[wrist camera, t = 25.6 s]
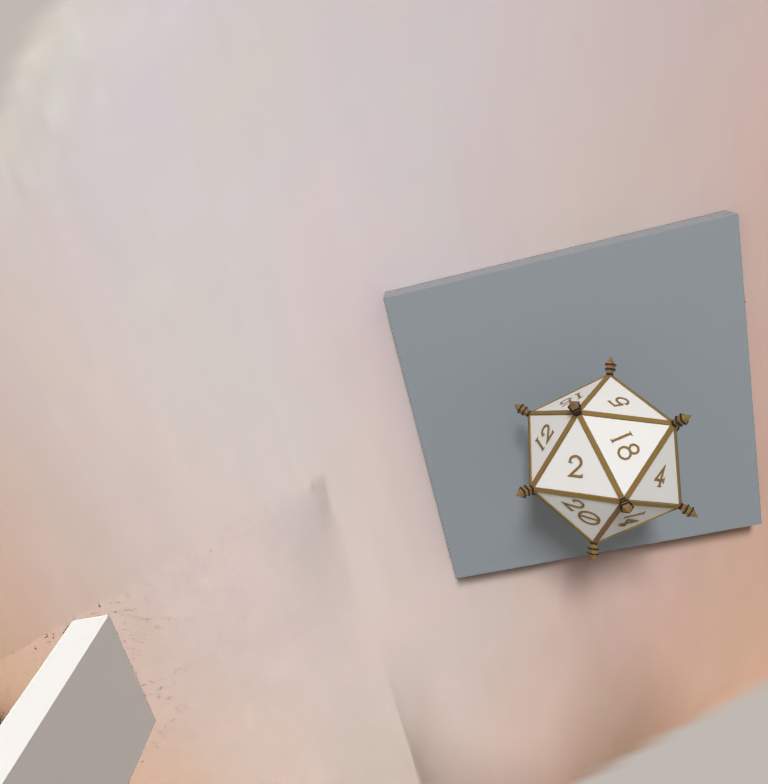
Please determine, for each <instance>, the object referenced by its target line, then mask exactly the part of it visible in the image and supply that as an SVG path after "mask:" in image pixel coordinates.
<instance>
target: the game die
mask: <svg viewBox="0 0 768 784" xmlns="http://www.w3.org/2000/svg"><path fill="white" fill-rule="evenodd" d="M605 366H606V368H605V370H606V375H605V376H603V377H601V378H599V379H597V380H594V381H592V382H590V383H588V384H586V385H584V386H582V387H580V388H578V389H576V390H574V391H572V392H570V393H568V394H566V395H563V396H561V397H559V398H557V399H555V400H553V401H551V402H549V403H547V404H545V405H543V406H541V407H539V408H537V409H534V410H532V411H530V410H529V409H528V407H527V406H526V407H525V406H524V404H522V405H521V404H514V405H515V407H516V409H517V413H520V414H522V416H523V415H525V416H527V417H528V446H529V486H526V485H524V487H520V488H519V490H518V492H517V494H516V495H515V496H519V497H522V498H526V496H530V494H532V495H536V496H537V497H539V498H540V499H541V500H542V501H543V502H544V503H546V504H547V505H548V506H549V507H550V508H551V509H553V510H554V511H555V512H556V513H557V514H558V515H559V516H561V517H562V518H563V519H564V520H565V521H566V522H568V523H569V524H570V525H571V526H572V527H573V528H575V529H576V530H577V531H578V532H579V533H580V534H582V535H583V536H584V537H585V538H586V539H587V540H588V541H590V545H589V547H587V548H588V552H587V553H588V555H589V557H590V559H591V561H592V562H593V560H594V559H595V558H596V556H597V555H598V550H599V548H598V547H597V544H598V543H599V542H601V541H604V540H606V539H608V538H611V537H613V536H615V535H618V534H620V533H622V532H625V531H627V530H629V529H632V528H634V527H637V526H639V525H641V524H644V523H646V522H648V521H651V520H653V519H655V518H658V517H660V516H663V515H665V514H667V513H670V512H672V511H674V510H677V509H679V510H681V512H682V514H685V515H687V517H698V516H697V514H696V512H695V510H694V507H693V508H692V507H690V506H689V504H688V505H686V504H683V503H682V496H681V482H680V469H679V455H678V441H677V431H678V430H679V429H680V427H682V426H683V425H687V424H688V422H689V419H690V418H691V416H692V415H685V414H682V413H680V415H679V416H675V418H674V419H673V420H672V419H671V418H669V417H668V416H667V415H665V414H664V413H663V412H661V411H660V410H659V409H657V408H656V407H655V406H653V405H652V404H651V403H649V402H648V401H647V400H645V399H644V398H643V397H641V396H640V395H638V394H637V393H636V392H634V391H633V390H632V389H630V388H629V387H628V386H626V385H625V384H624V383H622V382H621V381H620V380H618V379H617V378H616V377H614V376H613V373H614V371H616V369H615V366H617V365H616V364H615V363H614V361H613V359H612V357H610V359H609V360H608V361H607V363H605Z"/></svg>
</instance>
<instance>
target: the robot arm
mask: <svg viewBox="0 0 768 784" xmlns="http://www.w3.org/2000/svg"><path fill="white" fill-rule="evenodd" d="M155 722H156V719H155V717H154V715H153V713H152V710H151V708H150V706H149V704H148V701H147V699H146V697H145V695H144V692H143V690H142V688H141V686H140V683H139V681H138V679H137V676H136V674H135V672H134V670H133V667H132V665H131V663H130V661H129V658H128V656H127V654H126V652H125V649H124V647H123V645H122V643H121V640H120V638H119V636H118V634H117V631H116V629H115V627H114V625H113V622H112V620H111V618H110V616H109V615H104V616H98V617H92V618H86V619H80V620H74V621H73V622H72V623H71V624H70V626H69V627H68V629H67V630H66V632H65V633H64V635H63V636H62V637H61V639H60V640H59V642H58V643H57V645H56V646H55V647H54V649H53V650H52V652H51V653H50V655H49V656H48V657H47V659H46V660H45V662H44V663H43V665H42V666H41V668H40V669H39V670H38V672H37V673H36V675H35V676H34V678H33V679H32V680H31V682H30V683H29V685H28V686H27V688H26V689H25V690H24V692H23V693H22V695H21V696H20V698H19V699H18V701H17V702H16V703H15V705H14V706H13V708H12V709H11V711H10V712H9V713H8V715H7V716H6V718H5V719H4V721H3V722H2V723H1V725H0V784H128V783H129V781H130V778H131V776H132V774H133V772H134V769H135V767H136V765H137V763H138V760H139V758H140V756H141V753H142V751H143V749H144V747H145V744H146V742H147V740H148V737H149V735H150V733H151V731H152V728H153V726H154V724H155Z"/></svg>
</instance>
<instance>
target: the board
mask: <svg viewBox="0 0 768 784" xmlns="http://www.w3.org/2000/svg"><path fill="white" fill-rule="evenodd" d="M383 299H384V303H385V307H386V311H387V315H388V318H389V322H390V326H391V330H392V334H393V338H394V342H395V345H396V349H397V353H398V357H399V361H400V365H401V368H402V372H403V376H404V380H405V384H406V388H407V392H408V395H409V399H410V403H411V407H412V411H413V415H414V419H415V422H416V426H417V430H418V434H419V438H420V442H421V445H422V449H423V453H424V457H425V461H426V465H427V469H428V472H429V476H430V480H431V484H432V488H433V492H434V496H435V499H436V503H437V507H438V511H439V515H440V519H441V522H442V526H443V530H444V534H445V538H446V542H447V546H448V549H449V553H450V557H451V561H452V565H453V569H454V573H455V576H456V578H462V577H467V576H473V575H478V574H484V573H489V572H495V571H501V570H506V569H512V568H517V567H523V566H529V565H534V564H540V563H545V562H551V561H556V560H562V559H568V558H573V557H579V556H584V555H588V553H587V552H588V548H587V547H589V545H590V541H588V540H587V539H586V538H585V537H584V536H583V535H582V534H580V533H579V532H578V531H577V530H576V529H575V528H573V527H572V526H571V525H570V524H569V523H568V522H566V521H565V520H564V519H563V518H562V517H561V516H559V515H558V514H557V513H556V512H555V511H554V510H553V509H551V508H550V507H549V506H548V505H547V504H546V503H544V502H543V501H542V500H541V499H540V498H539V497H537V496H536V495H532V494H530V496H526V498H522V497H519V496H515V495H516V494H517V492H518V490H519V488H520V487H524V485H526V486H529V446H528V417H527V416H525V415H523V416H522V414H520V413H517V409H516V407H515V405H514V404H521V405H522V404H524V406H525V407H526V406H527V407H528V409H529V410H530V411H532V410H534V409H537V408H539V407H541V406H543V405H545V404H547V403H549V402H551V401H553V400H555V399H557V398H559V397H561V396H563V395H566V394H568V393H570V392H572V391H574V390H576V389H578V388H580V387H582V386H584V385H586V384H588V383H590V382H592V381H594V380H597V379H599V378H601V377H603V376H605V375H606V370H605V368H606V366H605V363H607V361H608V360H609V359H610V357H612V359H613V361H614V363H615V364H616V365H617V366H615V369H616V371H614V373H613V376H614V377H616V378H617V379H618V380H620V381H621V382H622V383H624V384H625V385H626V386H628V387H629V388H630V389H632V390H633V391H634V392H636V393H637V394H638V395H640V396H641V397H643V398H644V399H645V400H647V401H648V402H649V403H651V404H652V405H653V406H655V407H656V408H657V409H659V410H660V411H661V412H663V413H664V414H665V415H667V416H668V417H669V418H671V419H672V420H673V419H674V418H675V416H679V415H680V413H682V414H685V415H692V416H691V418H690V419H689V422H688V424H687V425H683V426H682V427H680V429H679V430H678V431H677V441H678V455H679V469H680V482H681V496H682V503H683V504H686V505H688V504H689V506H690V507H692V508H693V507H694V510H695V512H696V514H697V516H698V517H687V515H685V514H682V512H681V510H679V509H677V510H674V511H672V512H670V513H667V514H665V515H663V516H660V517H658V518H655V519H653V520H651V521H648V522H646V523H644V524H641V525H639V526H637V527H634V528H632V529H629V530H627V531H625V532H622V533H620V534H618V535H615V536H613V537H611V538H608V539H606V540H604V541H601V542H599V543H598V544H597V547H598V548H599V550H598V553H601V552H607V551H612V550H618V549H623V548H629V547H635V546H640V545H646V544H651V543H657V542H663V541H668V540H674V539H679V538H685V537H690V536H696V535H702V534H707V533H713V532H718V531H724V530H730V529H735V528H741V527H746V526H752V525H757V524H762V521H761V508H760V495H759V481H758V468H757V455H756V442H755V429H754V416H753V403H752V389H751V376H750V363H749V350H748V337H747V324H746V310H745V297H744V284H743V271H742V258H741V245H740V232H739V218H738V214H737V213H733V212H730V211H726V210H725V211H721V212H717V213H713V214H709V215H704V216H700V217H696V218H692V219H688V220H684V221H680V222H675V223H671V224H667V225H663V226H659V227H655V228H650V229H646V230H642V231H638V232H634V233H630V234H625V235H621V236H617V237H613V238H609V239H605V240H600V241H596V242H592V243H588V244H584V245H580V246H575V247H571V248H567V249H563V250H559V251H555V252H550V253H546V254H542V255H538V256H534V257H530V258H525V259H521V260H517V261H513V262H509V263H505V264H501V265H496V266H492V267H488V268H484V269H480V270H476V271H471V272H467V273H463V274H459V275H455V276H451V277H446V278H442V279H438V280H434V281H430V282H426V283H421V284H417V285H413V286H409V287H405V288H401V289H396V290H392V291H388V292H385V294H384V298H383Z"/></svg>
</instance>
